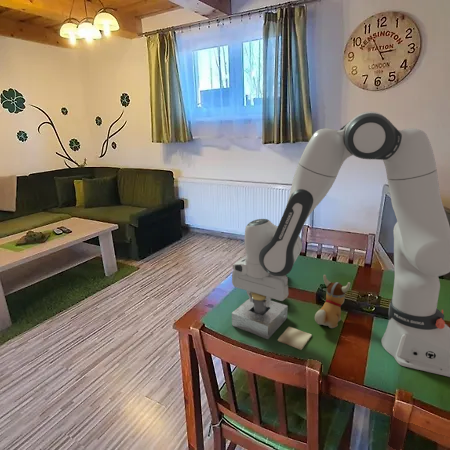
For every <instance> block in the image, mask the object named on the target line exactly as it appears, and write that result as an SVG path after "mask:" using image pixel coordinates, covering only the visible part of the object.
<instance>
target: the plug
mask: <svg viewBox="0 0 450 450" xmlns="http://www.w3.org/2000/svg"><path fill="white" fill-rule="evenodd" d="M252 298H253V299H254V313H256V314H259V315H262V316H263V315H264V314H265V313H266V307H265V306H263V305H264V304H263V302H264V301H265V299H266V296H263V295H260V294H257V293H253V292H252Z"/></svg>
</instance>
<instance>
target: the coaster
mask: <svg viewBox="0 0 450 450" xmlns="http://www.w3.org/2000/svg"><path fill="white" fill-rule="evenodd" d="M311 337H312V334H311V333H309V332H306V331H302V330H300V329H297V328H295V327H292V326H288V327H287V328H286V329H285V330H284V331H283V333H282V334H281V335H280V336H279V337H278V339H277V341H278V342H280V343H282V344H285V345H288V346H290V347H293V348H295V349H297V350H300V351H302V350H303V349H304V348H305V345H306V344H308V342H309V340H310V339H311Z"/></svg>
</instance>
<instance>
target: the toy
mask: <svg viewBox="0 0 450 450" xmlns="http://www.w3.org/2000/svg"><path fill="white" fill-rule="evenodd" d="M323 282H324V284H325V286H326V291H325V292H326V295H325V298H326V299H325V302H324V304H323V306H322V307H321V308H319V309H318V310H317V311H316V312H315V314H314V320H315V322H316V324H318V325H323V326H326V327H327V326H328V328H330V329H334V328H337V327H338V326H339V324H338V323H339V322H341V320H342V318H341V315H342V309H341V308H342V307H341V306H342V305H343V304H344V303H345V297H346V293H347V292H348V291H349V290H350V288H351V282H347V284H346V285H342V284H341V283H340V282H337V281H336V282H331V281H329V280H328V278H327V275H326V274H323Z"/></svg>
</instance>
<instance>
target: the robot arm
mask: <svg viewBox="0 0 450 450" xmlns="http://www.w3.org/2000/svg"><path fill="white" fill-rule="evenodd" d="M351 156H354V157H356V158H359V159H362V160H381V161H383V164H384V167H385V171H386V178H387V183H388V189H389V195H390V201H391V206H392V209H393V211H394V215H395V217H396V222H395V224H394V226H393V230H392V231H393V232H392V233H393V266H394V281H393V291H392V298H391V300H390V302H389V307H388V314H387V315H388V322H387V326H386V329H385V331H384V334H383V336H382V337H381V340H380V341H381V345H382V348H383V349H385V351H386V352H387V353H389V354H390V356H392V357H393V358H394V359H395V361H396V363H398V365H400V366H403V367H407V368H410V369H414V370H418V371H419V370H420V371H424V372H427V373H432V374H436V375H440V376H445V377H448V378H450V327H449V325H448V324H446V322H445V314H444V309H441V310H439V309H438V308H437V307H438V303H439V301H438V300H439V295H440V290H441V283H440V279H439V277H441V276H445V275H447V274H449V273H450V223H449V219H448V216H447V214H446V211H445V208H444V204H443V200H442V197H441V189H440V184H439V177H438V170H437V163H436V162H437V161H436V158H435V154H434V150H433V147H432V145H431V142H430V139H429V137H428V135H427V133H426V132H425V131H423V130H421V129H418V128H406V129H400V130H399V129H398V128H397V127H396V126H395V125H394V124H393V123H392V122H391V121H390V119H388V118H387V117H386V116H385V115H383V114H381V113H380V112H377V111H364V112H361V113H359V114H356V116H354V117H353V118H351V119H350V120H349V121H348V122H347V123H346V124H345V125H343V126H342V127H341V128H340V129H334V128H327V127H325V128H321V129H318V130H316V131H315V132H314V133H313V134H312V136H311V138H309V141H308V142H307V143H306V145H305V148H304V150H303V152H302V154H301V156H300V159H299V161H298V163H297V166H296V168H295V172H294V176H293V178H292V184H291V188H290V191H289V195H288V198H287V203H286V206H285V209H284V211H283V214H282V217H281V219H280V221H279V223H278V225H276V224H274V223H273V222H272V221H270V220H269V219H267V218H259V219H255V220H252V221H250V222H249V223H247V225H246V226H245V229H244V250H245V257H243V258H241V259H239V260H237V261H235V263H233V264H232V273H231V283H232V286H233V287H234V288H237V289H240V290H244V291H246V294H247V296H248V299H249V298H250V302H252V303H254V299H253V298H252V292H253V293H257V294H260V295H263V296H266V299H267V300H265V301H264V302H263V304H264V305H263V306H265V307H269V305H270V300H271V301H272V299H273V300H277V301H281V302H283V301H284V300H286V299H287V298H288V296H289V286H288V283H289V282H288V281H289V280H288V279H289V278H288V277H287V275H288V274H290V272H291V271H292V269H293V267H294V264H295V262H296V261H297V259H298V257H299V255H300V253H301V252H302V249H303V241H302V238H301V237H300V234H301V232H302V230H303V227H304V225H305V223H306V221H307V220H308V218H309V217H310V215H311V214H312V213H313V211H314V210H315V209H316V208H317V206H318V205H319V204H320V203H321V202H322V201H323V199H324V198H325V197H326V196H327V195H328V193H329V191H330V190H331V188H332V187H333V185H334V183H335V181H336V179H337V176H338V175H339V172H340V169H341V167H342V166H343V164H344V162H345V161H346V160H347V159H348V158H349V157H351Z"/></svg>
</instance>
